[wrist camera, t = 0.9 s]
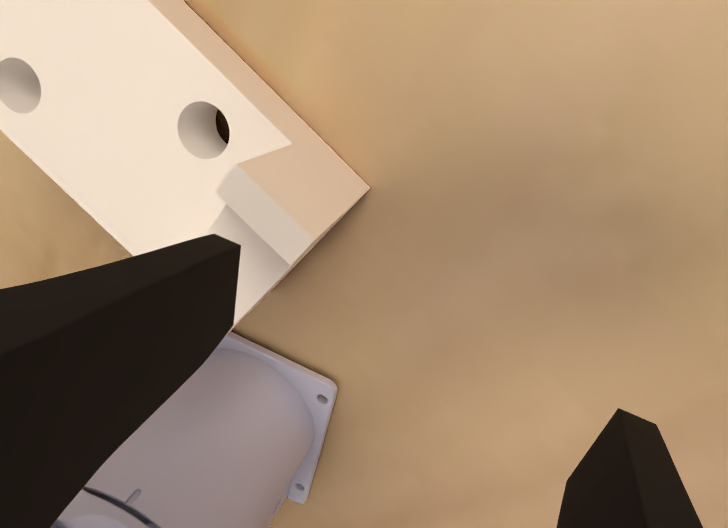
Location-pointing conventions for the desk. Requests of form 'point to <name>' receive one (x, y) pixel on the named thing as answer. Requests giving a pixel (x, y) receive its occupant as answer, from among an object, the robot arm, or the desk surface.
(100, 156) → the bracket
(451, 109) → the desk surface
